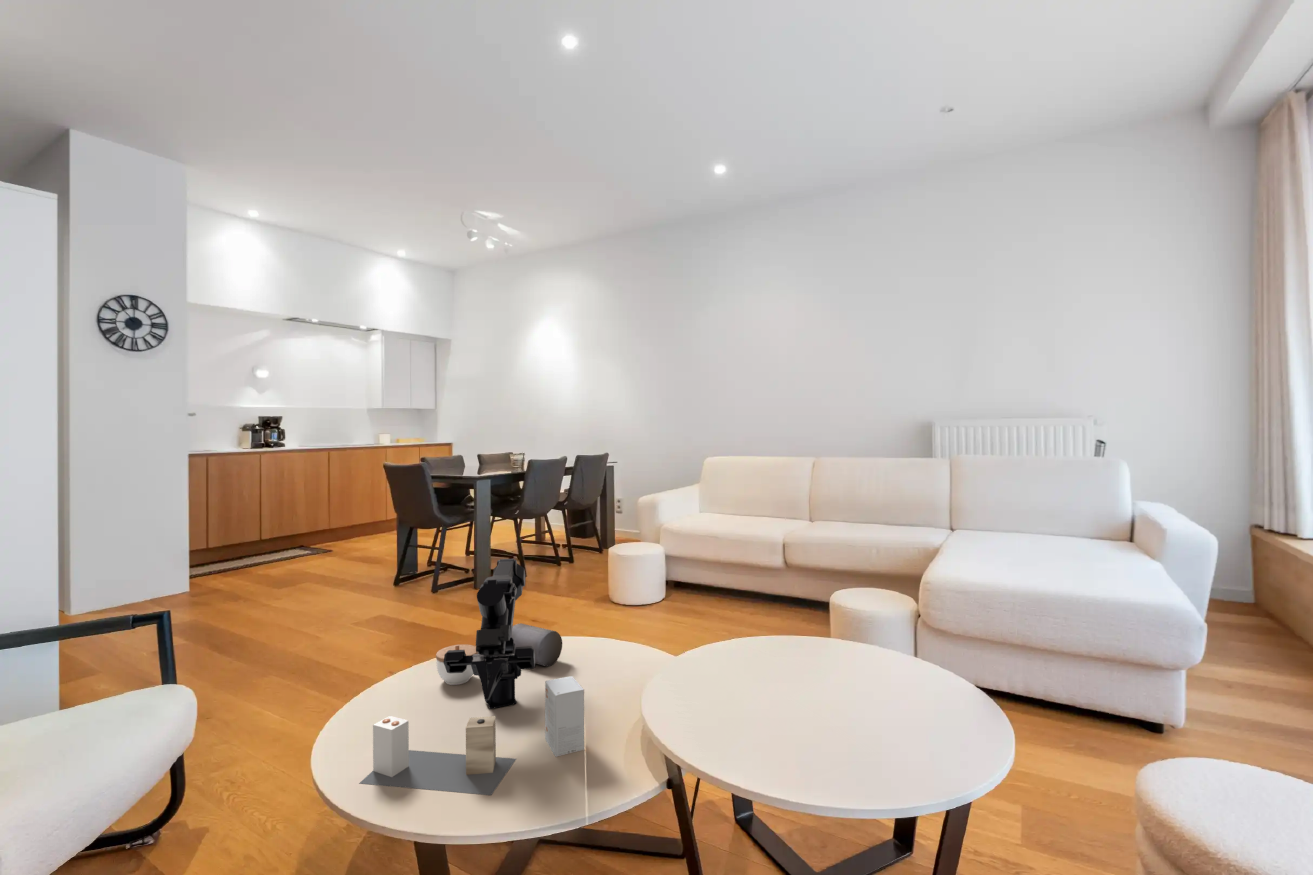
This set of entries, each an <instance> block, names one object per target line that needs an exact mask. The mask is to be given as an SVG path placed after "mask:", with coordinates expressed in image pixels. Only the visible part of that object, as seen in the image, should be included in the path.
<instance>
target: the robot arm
mask: <svg viewBox="0 0 1313 875" xmlns="http://www.w3.org/2000/svg"><path fill="white" fill-rule="evenodd" d="M524 587H526V572H525V568H524V567H523V566H522V565H521V564H519V563H518V561H517V559H515V558H502V559H501V558H500V559H498V560H497V561H496V566H495V567H494V568H493V574H492V576H489V577H488V576H487V577H486V578H485V579H484V580H483V584H482V583H481V585H480V586H479V590H478V591H477V593H476V601H477V604H478V608H479V613H480V615H481V623H480V624H481V626H480V629H476V636H475V646H476V652H478V654H473V655H468V656H466V653H465V650H448V651H447V652H446V653H445V655H444V661H443V663H444V665H445V668H446V671H447V673H463V672H464V671H465V670H466V669H467V665H471V667H472V670H473V676H478V677H479V680H480V683H481V684H480V685H481V688H482V693H483V698H484V701H485V704H486V705H487V706H488V708H489V709H491V710H492V709H497V708H503V707H507V706H512V705H516V704H517V699H516V680H517V679H518V678H519V677H521V676H522V670H533V669H535V668H536V663H535V652H534V648H533V647H532V646H524V647H516V649H515V644H514V640H513V638H511V636H512V627H513V626H514V625H513V624H514V617H515V610H516V609H515V608H516V607H515V606H516V601H517V600H518V599H519V598H520V597H521V596H522V594H523V591H524V590H523V588H524Z"/></svg>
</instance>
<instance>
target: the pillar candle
mask: <svg viewBox="0 0 1313 875" xmlns="http://www.w3.org/2000/svg"><path fill="white" fill-rule="evenodd" d="M511 638H513V640H514V644H515V649H516V647H524V646H532V647H533V648H534V652H535V665H536V664H537V665H539V666H544V667H551V666H552V665H554V664H555V663H556V662H557V661H558V659H560V656H561V653H562V650H563V638H562V636H561V634H560V633H559V632H557V631H556V630H552V629H548V628H544V627H543V628H542V627H538V626H533V625H530V624H526V623H516V624H514V625H513V627H512V636H511Z"/></svg>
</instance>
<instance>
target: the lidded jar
mask: <svg viewBox="0 0 1313 875" xmlns="http://www.w3.org/2000/svg"><path fill="white" fill-rule="evenodd" d="M448 650H465V653H466V656H468V655H473V654H478V652H476V645H472V644H453V645H449V646H446V647H443V648H441V649H439V650H438V651H437V652H436V654H435V659H436V669H437V670H436V671H437V674H438V675H439V678H440V679H441V680H443V681H444V682H445V684H446V685H449V686H459V685H463V684H465V683H467V682H469V681H470V678H472V676H474V674H473V670H472V667H471V665H467V669H466V670H465V671H464V672H463V673H447V671H446V668H445V665H444V663H443V661H444V655H445V653H446V652H447V651H448Z"/></svg>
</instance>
